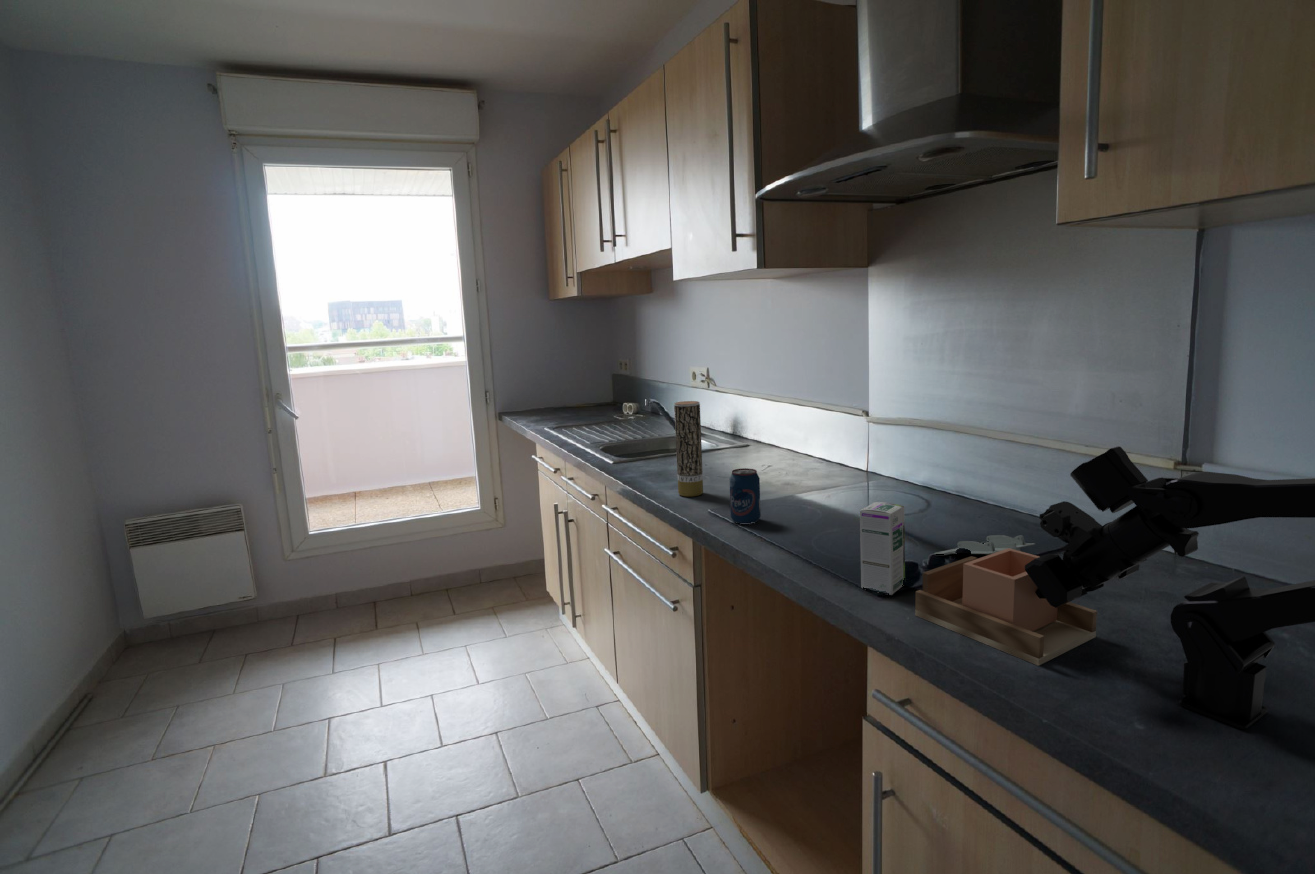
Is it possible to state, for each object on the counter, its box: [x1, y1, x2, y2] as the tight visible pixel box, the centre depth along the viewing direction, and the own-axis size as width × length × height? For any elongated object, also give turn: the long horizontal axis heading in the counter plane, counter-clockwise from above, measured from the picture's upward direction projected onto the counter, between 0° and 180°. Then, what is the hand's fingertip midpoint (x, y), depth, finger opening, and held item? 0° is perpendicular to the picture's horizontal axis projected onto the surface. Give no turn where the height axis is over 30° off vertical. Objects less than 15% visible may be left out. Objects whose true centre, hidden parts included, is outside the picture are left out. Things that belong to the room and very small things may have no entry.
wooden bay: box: [914, 555, 1098, 666], centre depth 106 cm, size 20×14×7 cm
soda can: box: [729, 468, 761, 523], centre depth 165 cm, size 7×7×12 cm
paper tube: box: [673, 400, 704, 498], centre depth 190 cm, size 7×7×25 cm
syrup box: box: [859, 501, 906, 596], centre depth 122 cm, size 6×6×14 cm
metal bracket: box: [934, 534, 1036, 556], centre depth 135 cm, size 14×6×15 cm
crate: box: [962, 548, 1058, 631], centre depth 105 cm, size 8×11×9 cm
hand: (1038, 594), depth 101 cm, fingers closed, pressing on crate
